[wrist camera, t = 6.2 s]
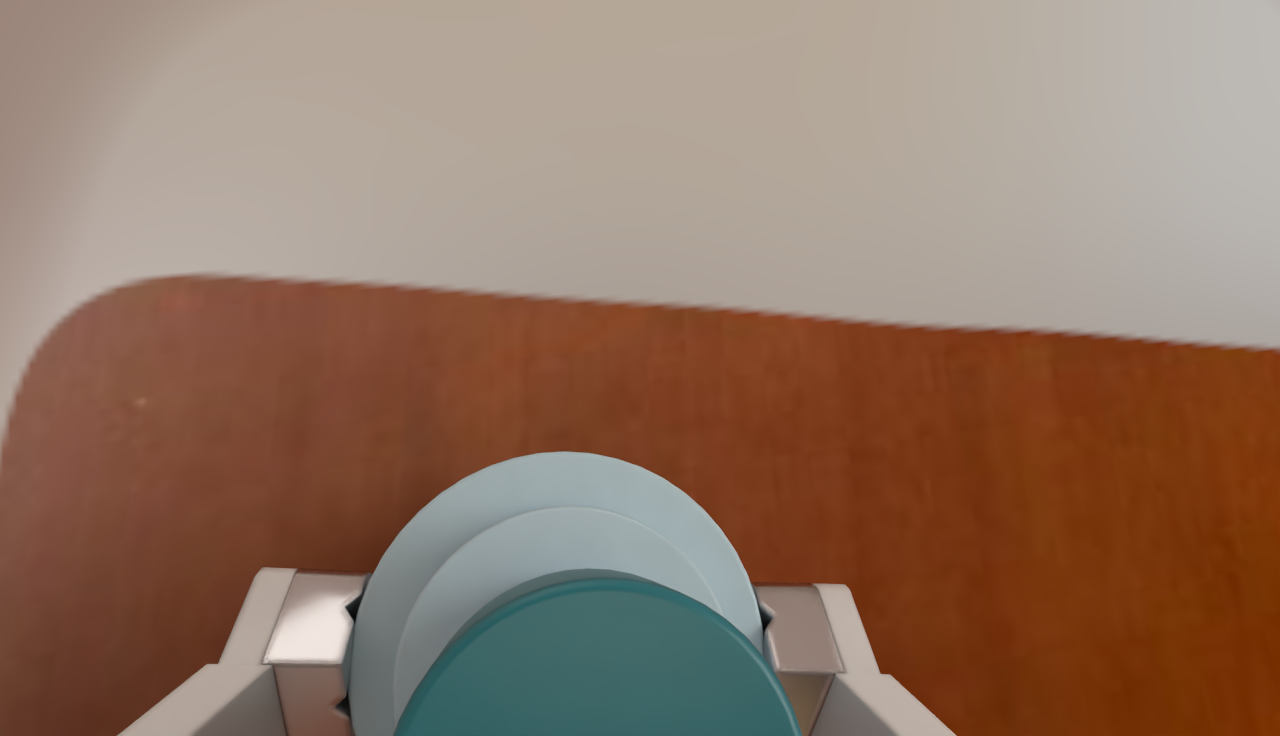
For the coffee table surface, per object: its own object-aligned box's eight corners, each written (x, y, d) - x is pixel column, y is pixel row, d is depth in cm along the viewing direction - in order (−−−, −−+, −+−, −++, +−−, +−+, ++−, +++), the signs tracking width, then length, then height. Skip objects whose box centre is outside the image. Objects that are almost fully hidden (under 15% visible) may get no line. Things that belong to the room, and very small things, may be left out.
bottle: (440, 746, 19) (141, 1482, 4) (418, 501, 20) (112, 422, 5) (678, 704, 20) (1103, 1197, 5) (646, 470, 21) (926, 331, 6)
